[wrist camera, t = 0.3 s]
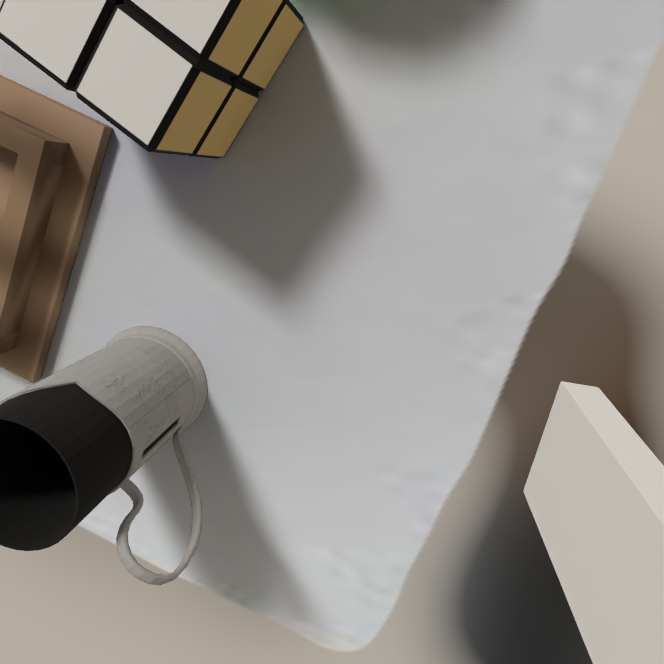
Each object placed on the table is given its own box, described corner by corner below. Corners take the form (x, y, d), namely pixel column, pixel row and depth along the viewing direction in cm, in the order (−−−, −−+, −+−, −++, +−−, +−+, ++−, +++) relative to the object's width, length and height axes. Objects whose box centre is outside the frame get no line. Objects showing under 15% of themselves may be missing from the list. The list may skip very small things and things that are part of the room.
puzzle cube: (100, 68, 37) (-15, 29, 27) (175, -81, 34) (75, -184, 24) (222, 161, 37) (150, 155, 27) (308, 22, 34) (260, -40, 24)
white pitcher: (143, 302, 40) (-14, 368, 26) (283, 436, 41) (206, 570, 27) (77, 379, 43) (-98, 478, 29) (211, 503, 44) (106, 658, 30)
